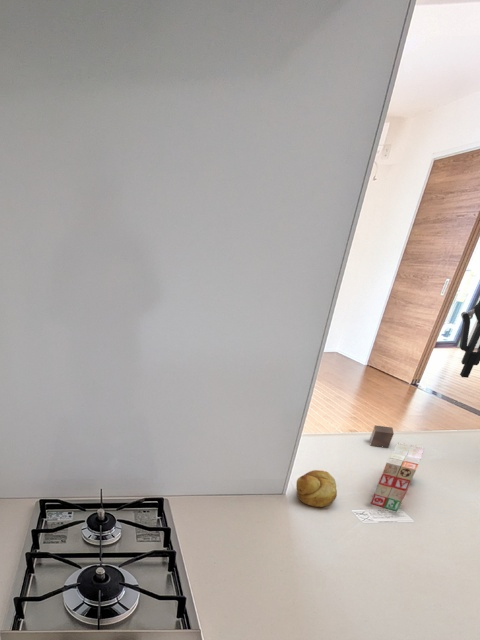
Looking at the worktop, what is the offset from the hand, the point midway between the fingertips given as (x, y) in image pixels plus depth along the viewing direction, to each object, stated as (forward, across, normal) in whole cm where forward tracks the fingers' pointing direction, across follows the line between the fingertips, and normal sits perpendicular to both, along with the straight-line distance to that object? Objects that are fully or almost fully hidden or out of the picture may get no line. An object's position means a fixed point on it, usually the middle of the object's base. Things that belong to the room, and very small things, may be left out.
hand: (464, 375), depth 126 cm
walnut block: (+22, -15, -4) cm, 27 cm away
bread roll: (+23, -32, -46) cm, 60 cm away
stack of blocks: (+23, -13, -34) cm, 43 cm away
